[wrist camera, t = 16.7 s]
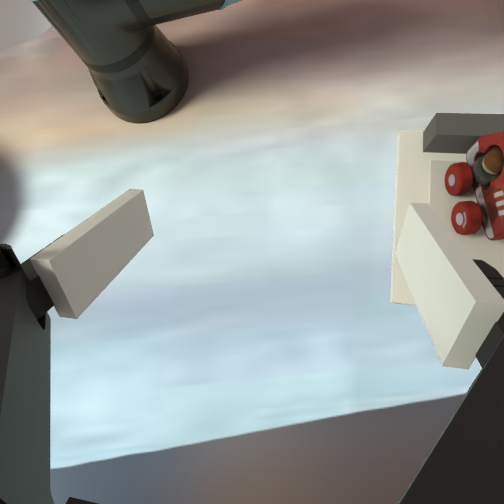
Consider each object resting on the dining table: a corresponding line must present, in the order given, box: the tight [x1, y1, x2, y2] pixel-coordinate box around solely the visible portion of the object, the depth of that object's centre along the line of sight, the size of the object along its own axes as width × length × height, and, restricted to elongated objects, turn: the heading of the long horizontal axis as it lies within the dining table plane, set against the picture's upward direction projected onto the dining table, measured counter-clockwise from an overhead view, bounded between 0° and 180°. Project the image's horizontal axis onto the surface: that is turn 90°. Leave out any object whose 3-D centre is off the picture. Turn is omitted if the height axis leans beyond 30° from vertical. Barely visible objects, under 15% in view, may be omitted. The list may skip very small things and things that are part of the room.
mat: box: [390, 130, 504, 306], centre depth 38 cm, size 24×18×1 cm
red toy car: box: [445, 131, 504, 241], centre depth 32 cm, size 7×12×10 cm, turn 2°
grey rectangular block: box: [423, 113, 504, 154], centre depth 37 cm, size 3×12×4 cm, turn 82°
